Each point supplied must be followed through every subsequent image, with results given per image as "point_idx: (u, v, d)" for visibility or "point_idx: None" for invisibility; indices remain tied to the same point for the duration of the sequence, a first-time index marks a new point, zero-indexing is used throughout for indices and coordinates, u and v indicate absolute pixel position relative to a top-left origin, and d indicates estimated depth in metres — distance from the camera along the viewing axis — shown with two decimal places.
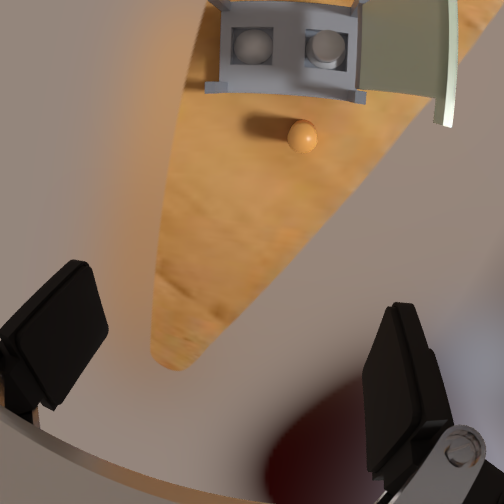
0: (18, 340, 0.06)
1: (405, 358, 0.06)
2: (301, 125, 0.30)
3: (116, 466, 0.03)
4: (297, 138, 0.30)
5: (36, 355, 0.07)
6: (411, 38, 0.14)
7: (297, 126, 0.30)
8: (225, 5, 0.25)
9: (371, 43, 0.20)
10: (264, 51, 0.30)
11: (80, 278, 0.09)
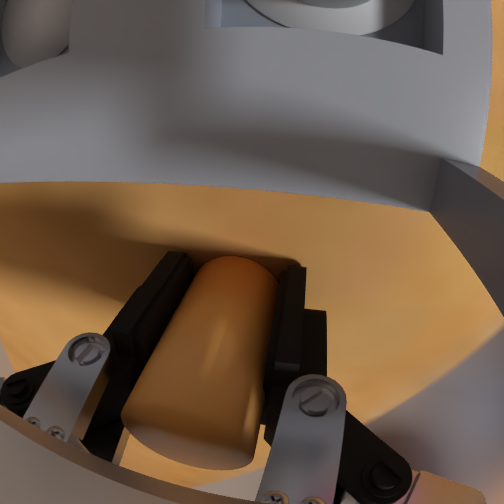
0: (136, 337, 0.07)
1: (278, 310, 0.08)
2: (166, 406, 0.05)
3: (116, 466, 0.03)
4: (164, 436, 0.06)
5: (150, 352, 0.07)
6: None
7: (148, 406, 0.05)
8: None
9: None
10: (71, 6, 0.06)
11: (184, 270, 0.09)
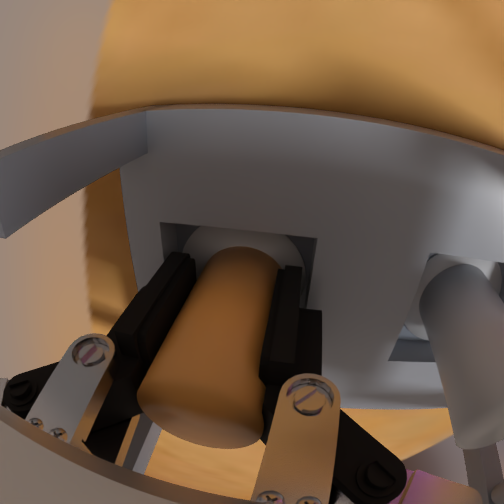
0: (140, 337, 0.07)
1: (273, 309, 0.08)
2: (183, 382, 0.06)
3: (116, 466, 0.03)
4: (178, 414, 0.06)
5: (155, 352, 0.07)
6: None
7: (165, 383, 0.06)
8: (104, 169, 0.06)
9: None
10: None
11: (188, 270, 0.09)
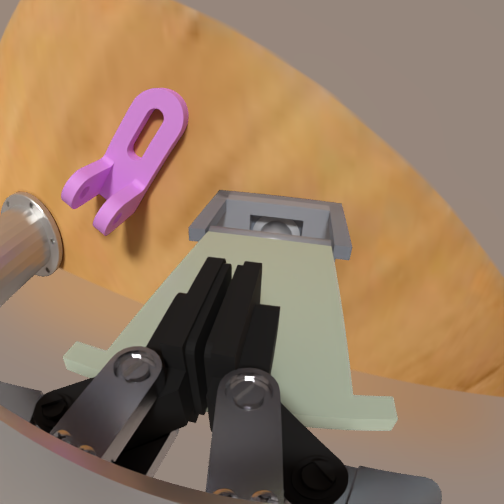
0: (188, 349, 0.07)
1: (225, 304, 0.08)
2: None
3: (116, 466, 0.03)
4: None
5: (200, 363, 0.07)
6: None
7: None
8: None
9: None
10: None
11: (226, 276, 0.09)
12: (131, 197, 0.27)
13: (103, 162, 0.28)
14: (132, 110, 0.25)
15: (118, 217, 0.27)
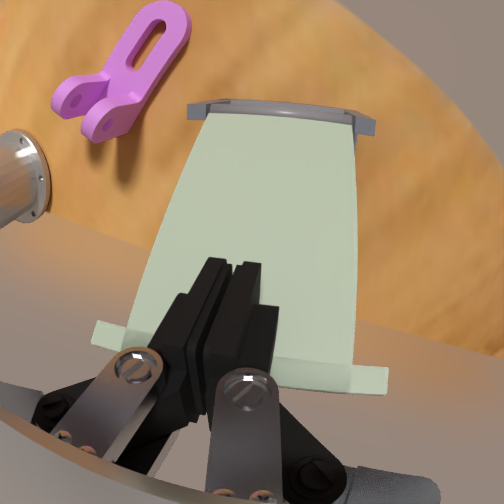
0: (189, 349, 0.07)
1: (224, 304, 0.08)
2: None
3: (116, 466, 0.03)
4: None
5: (201, 364, 0.07)
6: None
7: None
8: None
9: None
10: None
11: (227, 276, 0.09)
12: (125, 104, 0.23)
13: (99, 76, 0.23)
14: (134, 23, 0.21)
15: (109, 125, 0.23)
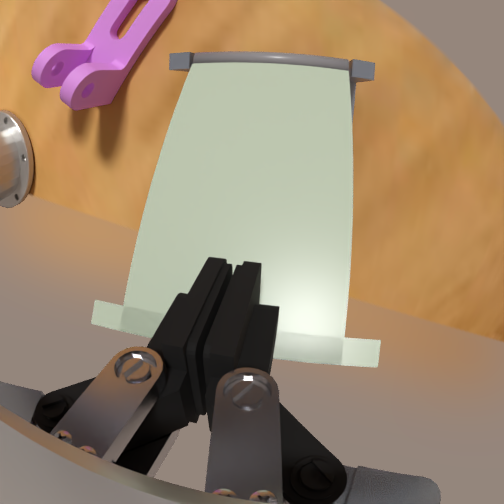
0: (189, 349, 0.07)
1: (224, 304, 0.08)
2: None
3: (116, 466, 0.03)
4: None
5: (201, 364, 0.07)
6: None
7: None
8: None
9: None
10: None
11: (227, 276, 0.09)
12: (107, 69, 0.20)
13: (83, 46, 0.21)
14: None
15: (90, 92, 0.20)
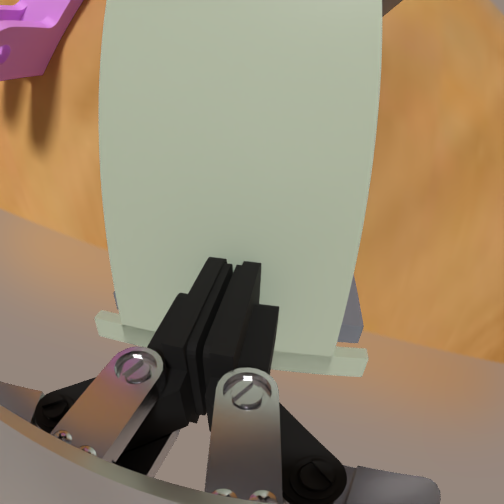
0: (189, 349, 0.07)
1: (224, 304, 0.08)
2: None
3: (116, 466, 0.03)
4: None
5: (201, 364, 0.07)
6: None
7: None
8: None
9: None
10: None
11: (227, 276, 0.09)
12: (28, 26, 0.11)
13: (14, 7, 0.12)
14: None
15: (6, 57, 0.11)
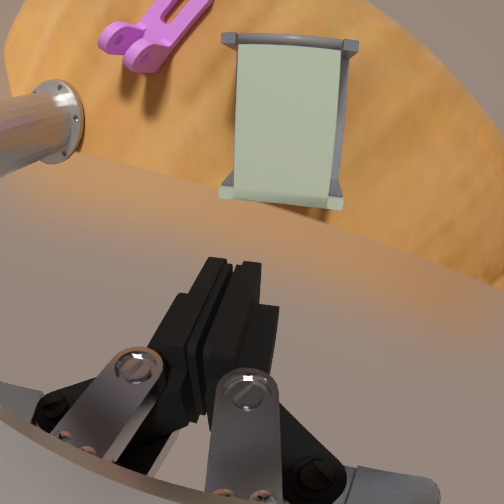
0: (189, 349, 0.07)
1: (224, 304, 0.08)
2: None
3: (116, 466, 0.03)
4: None
5: (201, 364, 0.07)
6: None
7: None
8: None
9: None
10: None
11: (227, 276, 0.09)
12: (160, 44, 0.27)
13: (137, 26, 0.27)
14: None
15: (145, 60, 0.27)
